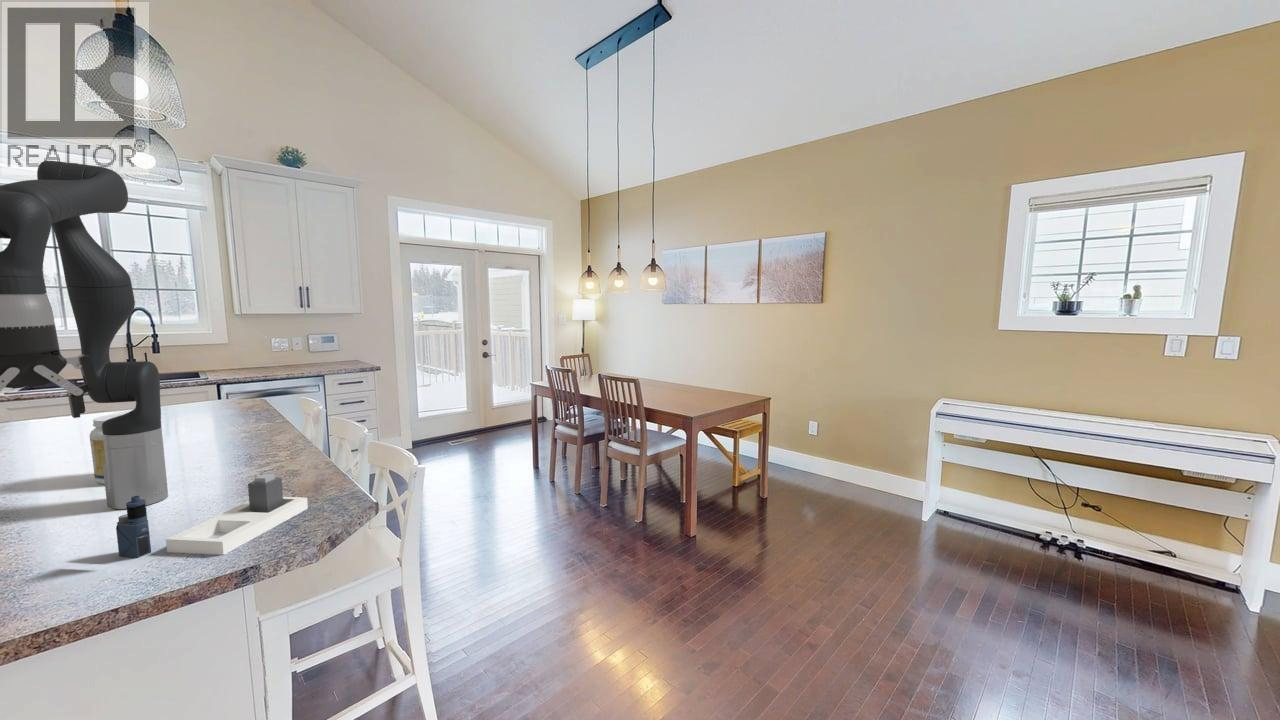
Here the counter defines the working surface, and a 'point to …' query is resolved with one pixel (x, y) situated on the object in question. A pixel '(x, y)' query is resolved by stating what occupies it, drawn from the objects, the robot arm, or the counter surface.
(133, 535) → the vaping device
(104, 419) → the supplement tub
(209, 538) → the dock
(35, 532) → the counter surface
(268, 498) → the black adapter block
